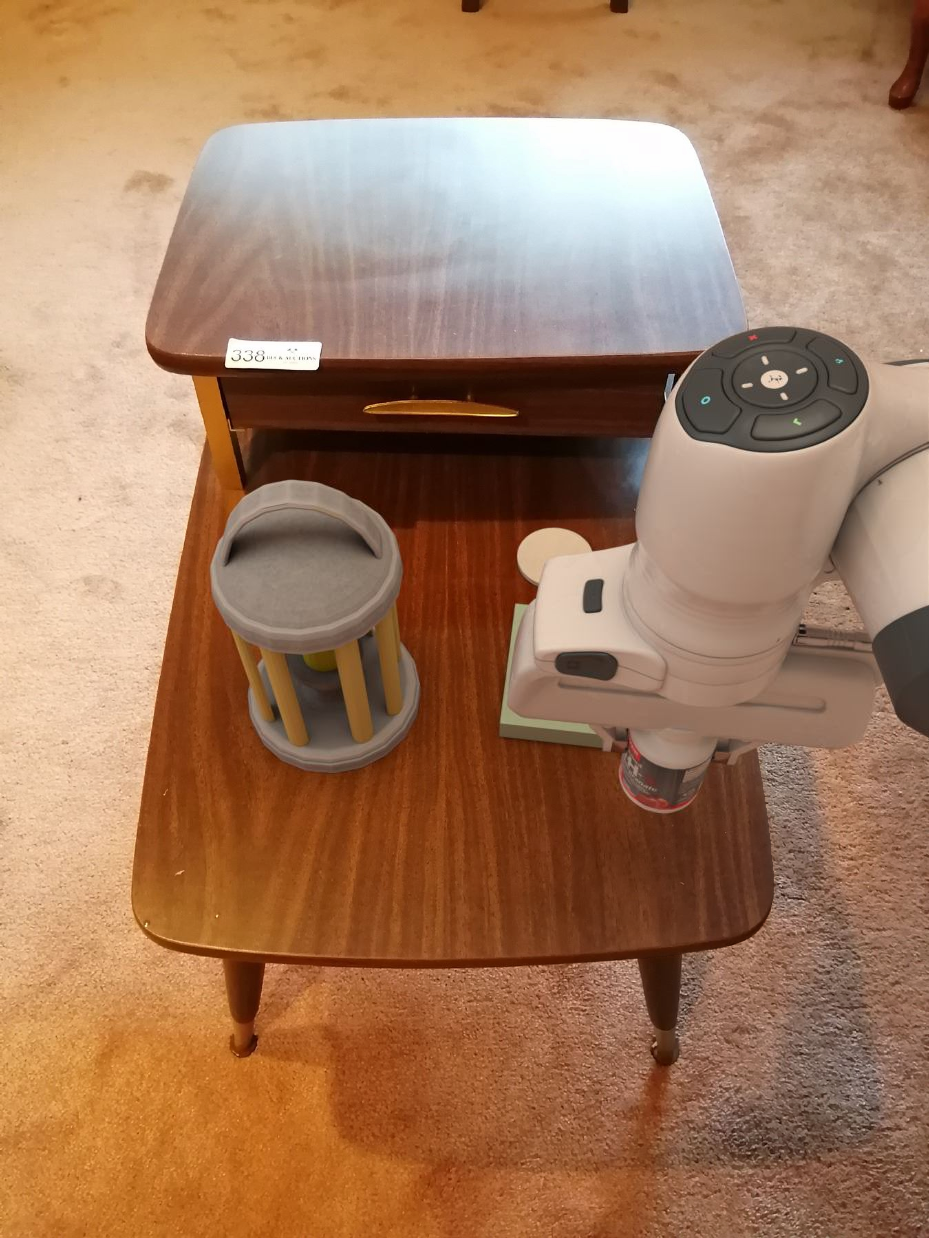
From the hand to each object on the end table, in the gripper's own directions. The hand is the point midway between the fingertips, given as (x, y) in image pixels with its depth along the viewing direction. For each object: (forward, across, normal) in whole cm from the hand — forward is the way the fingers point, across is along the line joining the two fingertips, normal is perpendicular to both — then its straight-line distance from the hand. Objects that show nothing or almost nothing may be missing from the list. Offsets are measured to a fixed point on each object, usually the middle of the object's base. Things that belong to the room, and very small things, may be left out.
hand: (667, 748), depth 62 cm
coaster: (+15, +8, -27) cm, 32 cm away
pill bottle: (+4, 0, 0) cm, 4 cm away
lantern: (+15, +26, -10) cm, 31 cm away
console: (+15, +4, -14) cm, 21 cm away
